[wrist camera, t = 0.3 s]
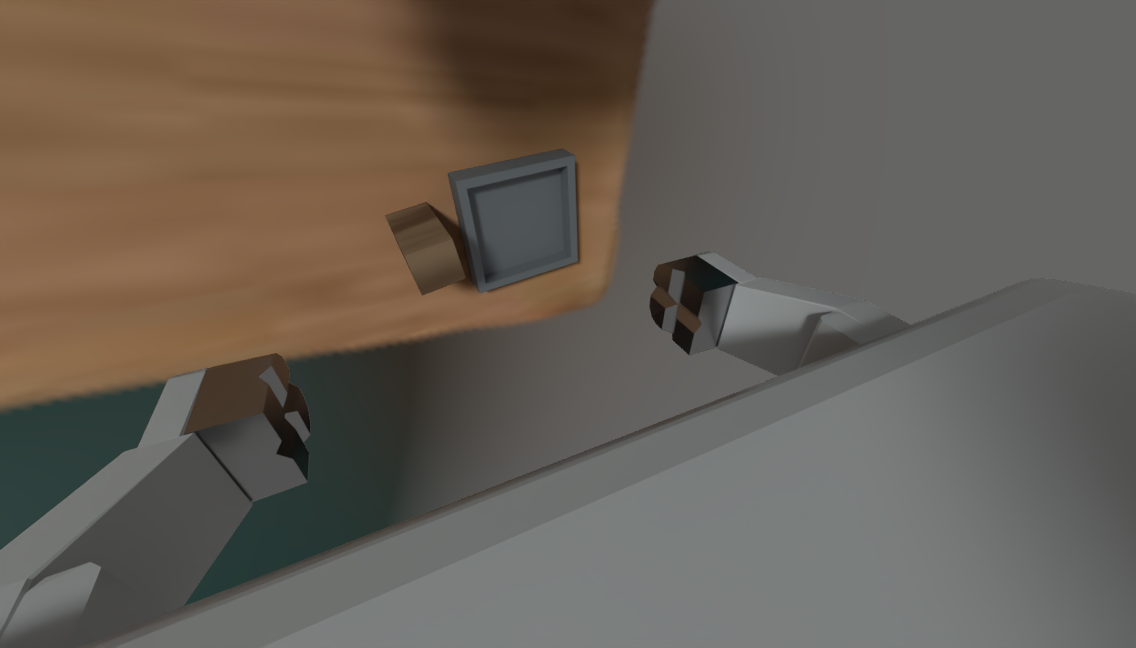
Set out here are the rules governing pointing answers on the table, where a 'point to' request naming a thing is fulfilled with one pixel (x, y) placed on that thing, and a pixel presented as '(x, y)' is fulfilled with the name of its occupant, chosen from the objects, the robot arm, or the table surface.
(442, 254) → the walnut block
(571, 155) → the tray
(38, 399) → the table surface
